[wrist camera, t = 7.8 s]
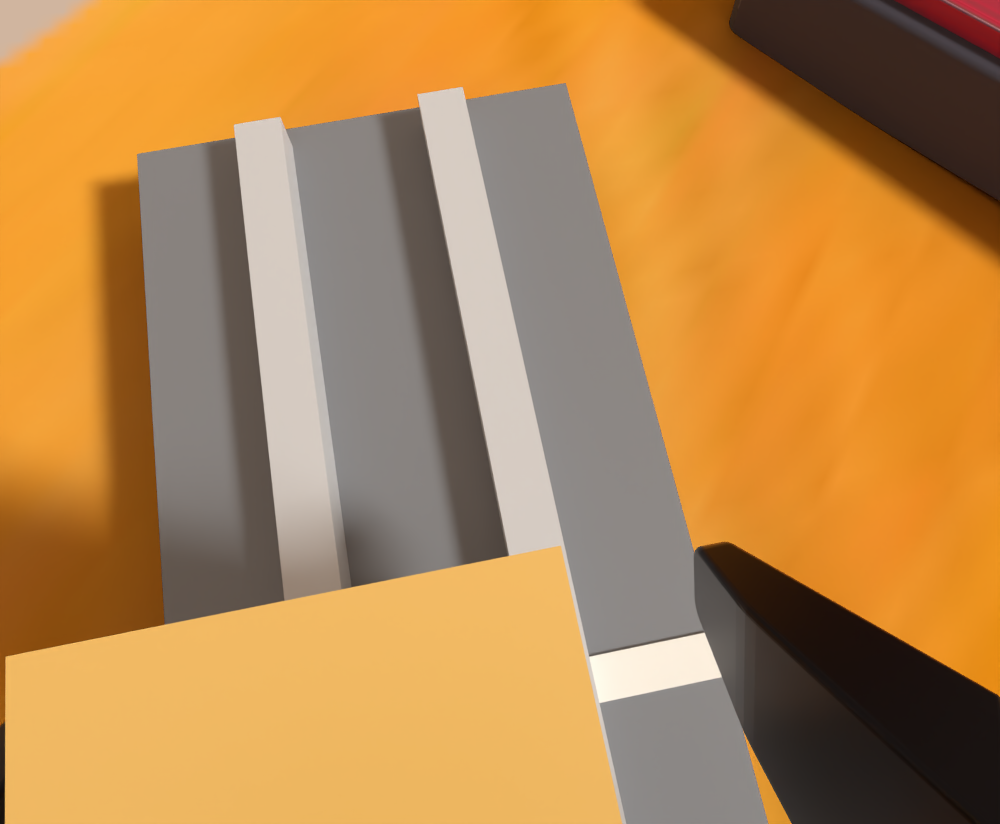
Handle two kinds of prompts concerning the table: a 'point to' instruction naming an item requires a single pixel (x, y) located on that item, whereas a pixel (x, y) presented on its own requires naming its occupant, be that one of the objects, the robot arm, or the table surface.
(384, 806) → the fader tab
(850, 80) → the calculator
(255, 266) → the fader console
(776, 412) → the table surface
